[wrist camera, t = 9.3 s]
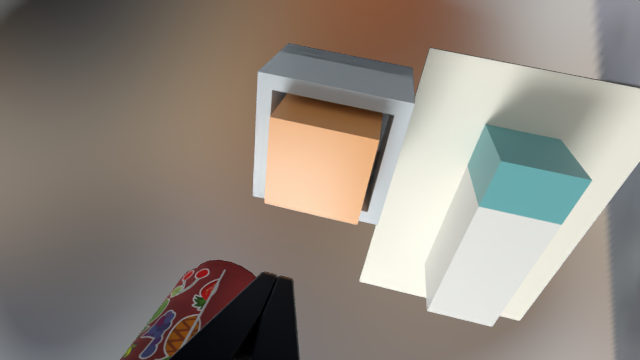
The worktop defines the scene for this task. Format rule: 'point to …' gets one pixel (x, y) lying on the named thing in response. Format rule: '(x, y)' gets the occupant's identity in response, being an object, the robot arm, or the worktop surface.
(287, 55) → the button housing
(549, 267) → the paper sheet
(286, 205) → the button
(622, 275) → the worktop surface
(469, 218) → the milk carton
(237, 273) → the smoothie
